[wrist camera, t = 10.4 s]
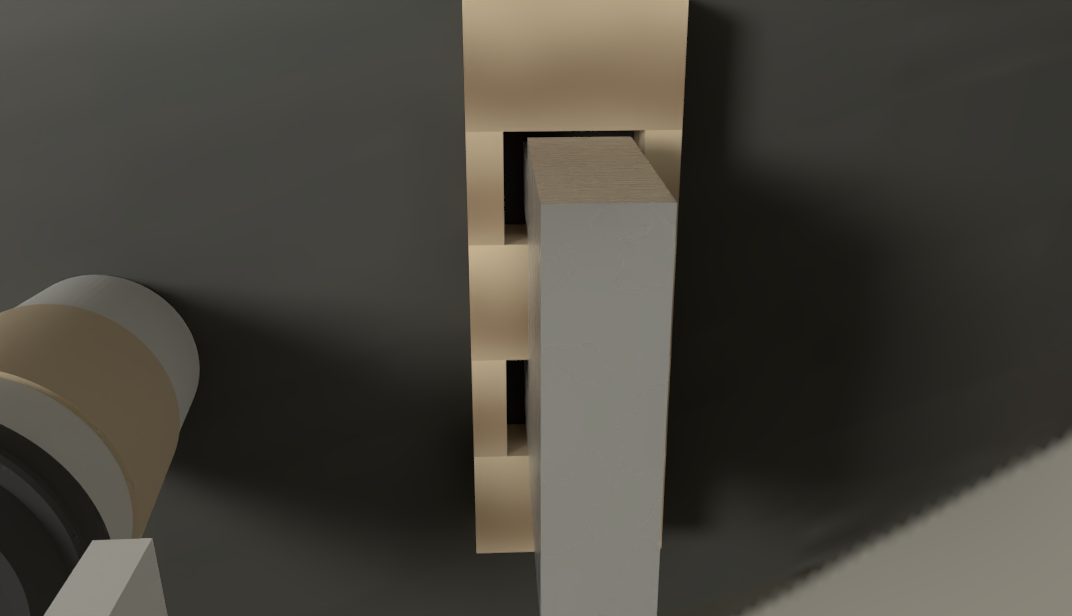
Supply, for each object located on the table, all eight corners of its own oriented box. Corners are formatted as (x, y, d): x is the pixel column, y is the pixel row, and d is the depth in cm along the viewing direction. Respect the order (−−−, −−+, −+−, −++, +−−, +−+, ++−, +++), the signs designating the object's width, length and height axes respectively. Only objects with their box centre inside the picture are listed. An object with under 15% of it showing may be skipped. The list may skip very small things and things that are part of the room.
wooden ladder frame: (463, -7, 33) (462, -2, 31) (674, -8, 33) (688, -3, 31) (477, 517, 40) (476, 553, 38) (651, 512, 41) (661, 548, 38)
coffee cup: (261, 296, 37) (121, 526, 23) (194, 499, 39) (33, 816, 25) (8, 209, 35) (-311, 396, 21) (-43, 427, 38) (-355, 720, 24)
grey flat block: (522, 114, 35) (540, 204, 23) (615, 114, 35) (677, 202, 24) (524, 426, 39) (540, 628, 28) (607, 424, 39) (656, 624, 28)
